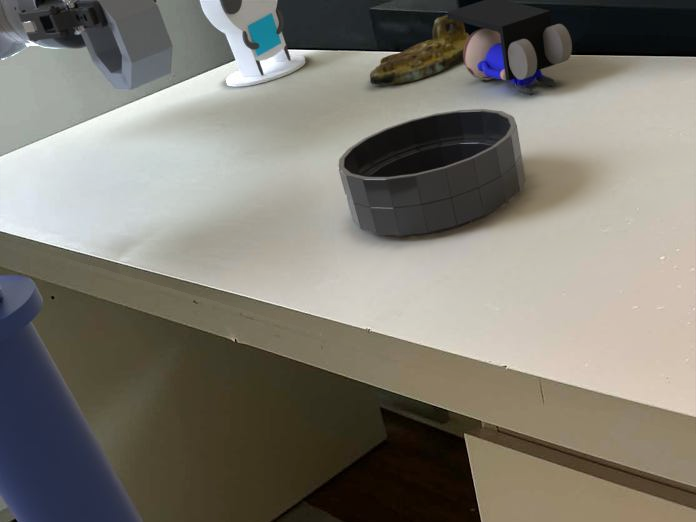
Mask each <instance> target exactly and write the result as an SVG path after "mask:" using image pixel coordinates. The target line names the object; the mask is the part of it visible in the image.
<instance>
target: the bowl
mask: <svg viewBox="0 0 696 522" xmlns="http://www.w3.org/2000/svg"><path fill="white" fill-rule="evenodd" d="M515 119H516V118H515V117H514V116H513V115H511V114H509V113H506V112H505V111H502V110H494V109H487V108H477V109H458V110H457V109H456V110H452V111H445V112H444V111H443V112H438V113H432V114H429V115H424V116H420V117H417V118H412V119H408V120H406V121H403V122H400V123H396V124H394V125H391V126H388V127H386V128H384V129H381V130H379V131H377V132H374V133H372V134H370V135H368V136H366V137H364V138H362V139H360V140H359V141H358V142H357V143H355V144H353V145H352V146H350V147H349V148H348V149H346V151H345V152H344V153H342V155H341V157H339V159H338V167H337V170H338V173H339V178H340V180H341V184H342V187H343V190H344V195H345V198H346V201H347V205H348V209H349V212H350V215H351V219H352V221H353V223H354V224H355V225H356V226H357V227H358V228H359V229H360V230H362V231H365V232H368V233H372V234H375V235H378V236H381V235H382V236H388V237H399V238H400V237H401V238H402V237H403V238H405V237H406V238H408V237H421V236H428V235H434V234H440V233H444V232H448V231H451V230H456V229H459V228H461V227H464V226H467V225H469V224H473V223H475V222H478V221H480V220H481V219H484V218H486V217H488V216H490V215H491V214H493V213H495V212H496V211H498V210H499V209H501V208H502V207H503V206H505V205H506V204H508V203H509V202H510V201H512V199H514V198H515V197H516V196H517V195H518V194H520V193H521V191H522V189H523V188H524V185H525V183H526V175H525V169H524V162H523V155H522V148H521V142H520V136H519V129H518V125H517V122H516V120H515Z"/></svg>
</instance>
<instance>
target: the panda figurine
mask: <svg viewBox="0 0 696 522" xmlns="http://www.w3.org/2000/svg"><path fill="white" fill-rule="evenodd" d="M199 4H200V6H201V10H202V12H203V14H204V16H205V17H206V19H207V20H208V21H209V22H210V24H211V25H212V26H213V27H214V28H215V29H217V30H218V31H220V32H221V33H223V34H224V35H225V37H226V39H227V42H228V44H229V47H230V50H231V52H232V54H233V55H232V56H233V57H234V60H235V62H236V64H237V67H238V70H236V71H234V72H232V73H231V74H229V75H228V76H227V77H226V78H225V82H226V85H227V86H229V87H234V88H235V87H236V88H237V87H240V88H241V87H248V86H249V87H250V86H254V85H258V84H262V83H267V82H270V81H274V80H277V79H280V78H283V77H285V76H287V75H289V74H292V73H294V72H296V71H297V70H299V69H300V68H302V67H303V66H304V65H305V64H306V57H305V56H303V55H298V54H297V55H293V54H292V55H291V54H290V52H289V49H288V46H287V44H286V41H285V37H284V34H283V29H284V26H285V18H284V16H283V13H282V12H281V11H280V9H278V8H277V6H278V0H199Z"/></svg>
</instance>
